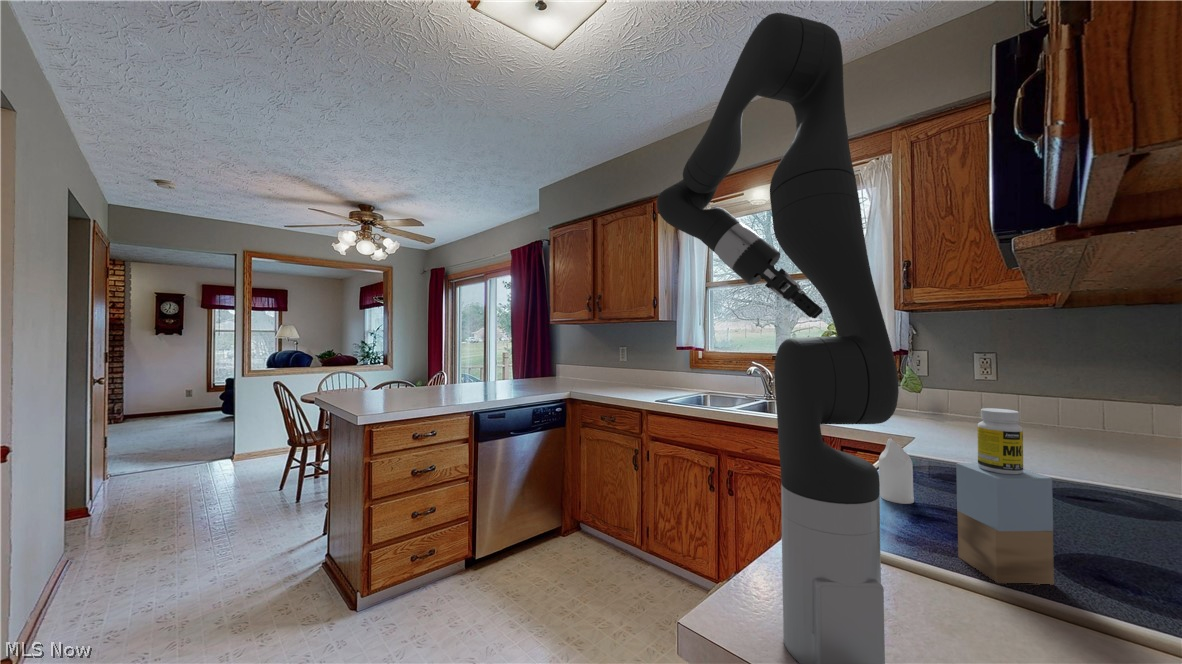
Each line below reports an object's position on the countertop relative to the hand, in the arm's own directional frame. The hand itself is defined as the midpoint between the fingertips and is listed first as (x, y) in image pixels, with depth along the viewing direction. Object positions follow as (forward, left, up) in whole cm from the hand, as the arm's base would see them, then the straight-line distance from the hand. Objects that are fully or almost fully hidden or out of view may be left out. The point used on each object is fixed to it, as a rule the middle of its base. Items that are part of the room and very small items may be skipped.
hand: (817, 314), depth 76 cm
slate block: (-11, -20, -30) cm, 37 cm away
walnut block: (-11, -20, -37) cm, 43 cm away
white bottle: (+16, -21, -37) cm, 45 cm away
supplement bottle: (-11, -20, -23) cm, 32 cm away
